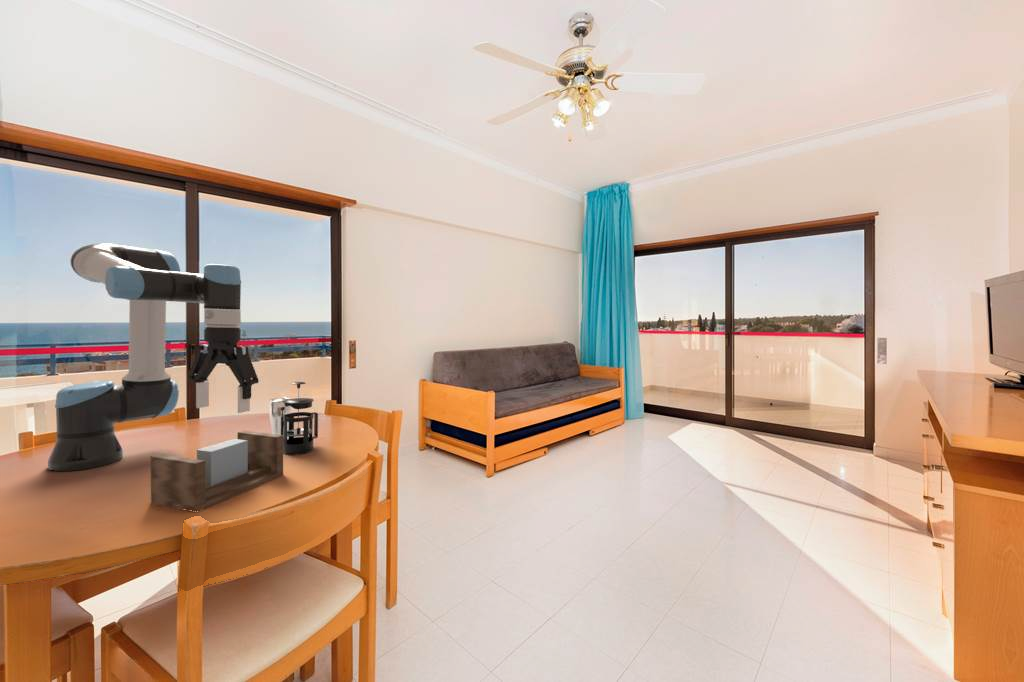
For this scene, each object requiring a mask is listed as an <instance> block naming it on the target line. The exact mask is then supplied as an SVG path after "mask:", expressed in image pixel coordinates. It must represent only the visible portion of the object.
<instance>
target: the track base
mask: <svg viewBox="0 0 1024 682" xmlns="http://www.w3.org/2000/svg"><path fill="white" fill-rule="evenodd" d="M237 439H240V440H248V473H245V474H243V475H240V476H237V477H235V478H232V479H230V480H227V481H225V482H222V483H220V484H217V485H215V486H212V487H209V488H207V489H205V461H204V460H198V459H197V458H190V457H184V456H176V455H171V454H170V455H169V454H164V453H158V454H154V455H152V456H150V503H151V505H156V506H161V505H163V506H162V507H166V506H169V507H168V508H171V507H174V508H173V509H176V508H179V509H178V510H181V509H186V510H192V511H196V512H197V511H199V512H201V511H203V510H205V509H208V508H210V507H212V506H215V505H218V504H219V503H221V502H224V501H226V500H228V499H230V498H233V497H235V496H237V495H239V494H240V495H241V494H242V493H244V492H247V491H249V490H251V489H253V488H256V487H258V486H260V485H262V484H265V483H267V482H269V481H271V480H275V479H276V478H278V477H281V476H283V475H284V454H283V435H276V434H272V433H266V432H258V431H250V430H241V431H238V432H237ZM202 509H203V510H202ZM186 510H185V511H186ZM200 510H201V511H200ZM196 512H195V513H196ZM197 513H198V512H197Z"/></svg>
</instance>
